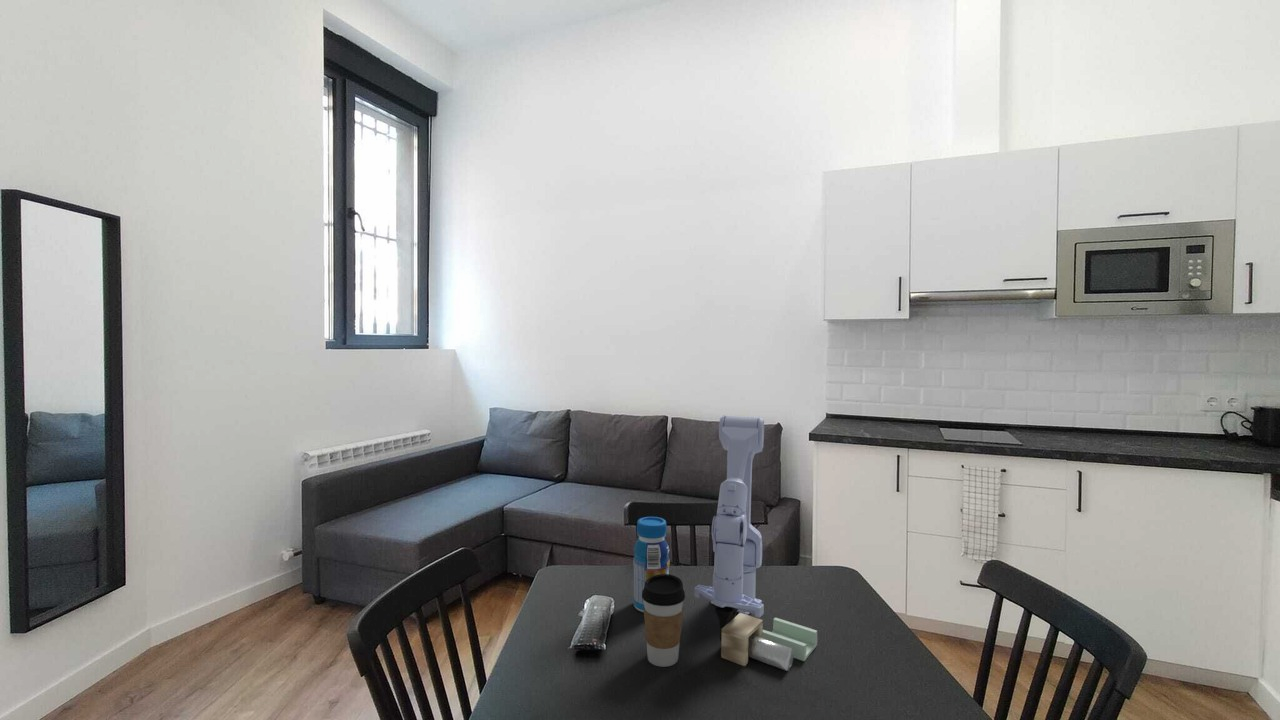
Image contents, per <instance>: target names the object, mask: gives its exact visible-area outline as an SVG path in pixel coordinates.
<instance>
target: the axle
mask: <svg viewBox="0 0 1280 720" xmlns="http://www.w3.org/2000/svg"><path fill="white" fill-rule="evenodd" d="M748 658H751V659H754V660H756V661H759V662H761V663H765V664H767V665H770V666H772V667H776V668H777V669H781V670H783V671H786V672H788V671H789V670H790V669H791V668H792V665H793V662H794V658H793V649H792V648H789V647H787V646H784V645H781V644H778V643H775V642H772V641H769V640H766V639H763V638H760V637H757V636H754V635H750V636H749V637H748Z"/></svg>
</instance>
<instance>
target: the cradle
mask: <svg viewBox="0 0 1280 720" xmlns="http://www.w3.org/2000/svg"><path fill="white" fill-rule="evenodd" d="M772 626H773V627H772V628H773V629H772V631H768V630H765V629H763V639H766V640H769V641H772V642H775V643H778V644H781V645H784V646H787V647H789V648H792V649H793V659H796V660H799V661H802V662H805V661H806V660H807V658H808V657H810V655H811V654H812V652H813V651H814V650H815V648H816V647H817V646H818V630H816V629H813V628H811V627H807V626H804V625H800V624H798V623H794V622H791V621H788V620H785V619H782V618H780V617H779V618H778V617H774V618H773V624H772Z"/></svg>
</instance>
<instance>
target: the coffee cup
mask: <svg viewBox="0 0 1280 720" xmlns="http://www.w3.org/2000/svg"><path fill="white" fill-rule="evenodd" d="M685 592H686V591H685V590H684V586H683V581H682V579H681V578H679V577H677V576H676V575H673V574H670V573H669V574H659V575H654V576H652V577H650V578H649V579H647V581H646V582H645V584H644V589H643V591H642V598H643V600H644V607H643V609H644V612H643V617H644V619H643V621H644V629H645V631H644V632H645V640H646V652H647V653H646V654H647V661H648V662H649V663H650V664H652V665H653V666H657V667H662V668H664V667H665V668H666V667H667V668H668V667H671V666H673V665H675V664H676V663H677V662H678V660H679V652H680V641H681V633H682V624H683V623H682V622H683V616H684V615H683V614H684V605H683V603H684V601H685V599H686V593H685Z"/></svg>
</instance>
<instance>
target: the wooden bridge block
mask: <svg viewBox="0 0 1280 720" xmlns="http://www.w3.org/2000/svg"><path fill="white" fill-rule="evenodd" d="M763 621H764V620H763V619H760V618H758V617H755V616H751V615H749V614H748V615H746V614H742V613H739V612H738V614H737V615H735V618H734V619H732V620H731V621H730V622H729V623H728V624H727V625H725V626H724V627H723V628H722V640H721V641H720V642H721V645H720V646H721V651H720V654H721V655H720V656H721V657H720V658H722V659H725V660H727V661H730V662H733V663H735V664H737V665H740V666H742V667H746V666H747V664H748V663H749V657H748V637H749V636H750V635H754V636H757V637H760V638H763V630H764V628H763V626H764V624H763Z"/></svg>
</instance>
